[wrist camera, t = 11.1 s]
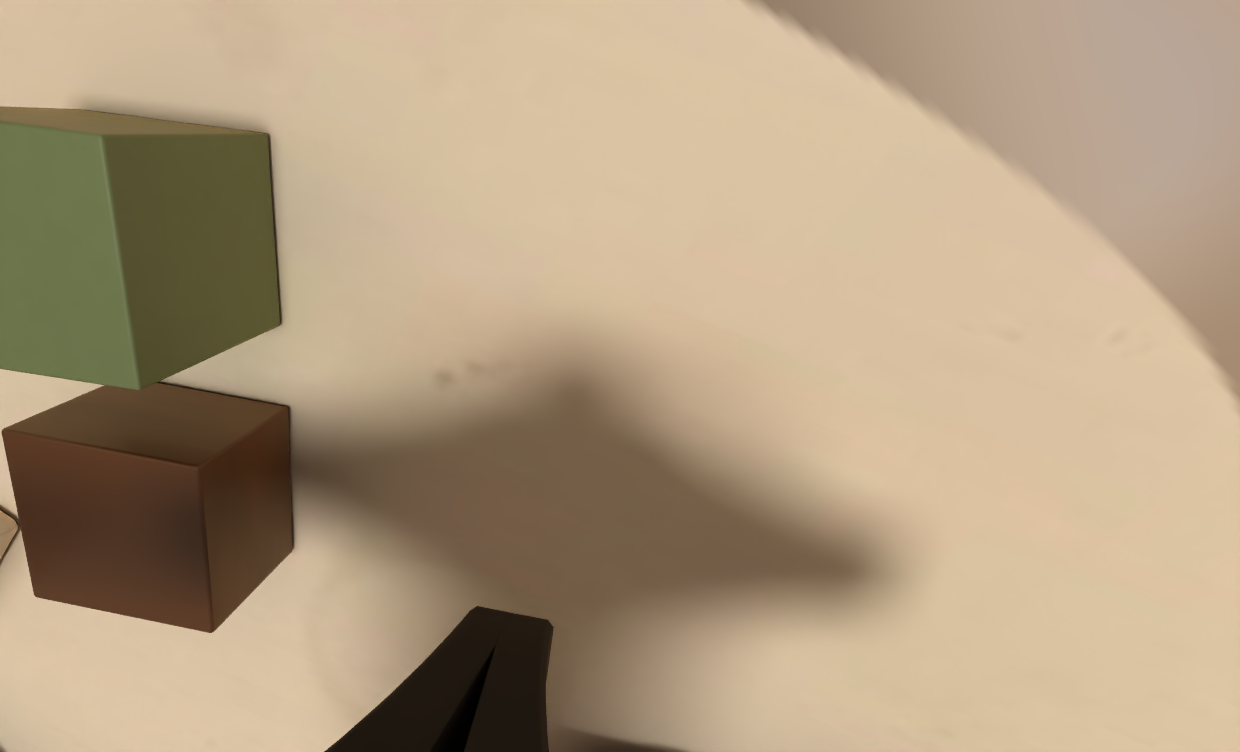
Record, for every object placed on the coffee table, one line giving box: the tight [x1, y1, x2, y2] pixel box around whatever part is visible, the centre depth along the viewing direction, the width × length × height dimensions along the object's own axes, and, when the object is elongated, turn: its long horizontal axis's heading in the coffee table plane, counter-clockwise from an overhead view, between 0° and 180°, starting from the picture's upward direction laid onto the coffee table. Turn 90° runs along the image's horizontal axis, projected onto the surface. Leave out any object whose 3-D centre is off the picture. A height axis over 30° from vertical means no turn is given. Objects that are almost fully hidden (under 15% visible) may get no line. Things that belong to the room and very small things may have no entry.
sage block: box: [0, 107, 280, 390], centre depth 12 cm, size 4×4×4 cm
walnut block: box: [2, 383, 292, 633], centre depth 15 cm, size 4×4×3 cm
